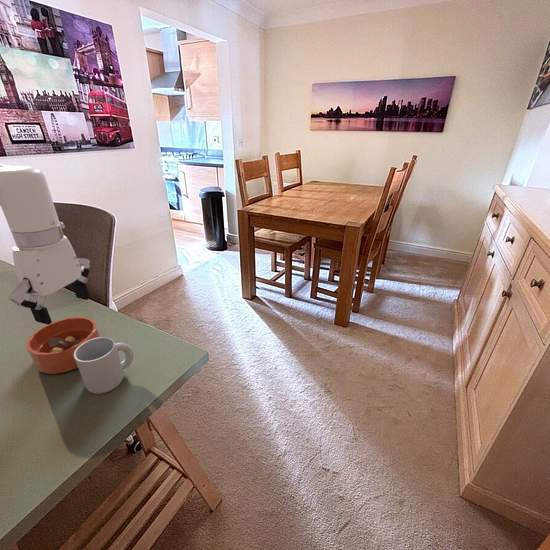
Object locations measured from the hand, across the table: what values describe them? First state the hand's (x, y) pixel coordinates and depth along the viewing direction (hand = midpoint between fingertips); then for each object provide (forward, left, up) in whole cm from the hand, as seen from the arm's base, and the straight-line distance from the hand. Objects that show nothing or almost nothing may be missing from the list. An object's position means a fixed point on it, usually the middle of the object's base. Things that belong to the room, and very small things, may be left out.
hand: (65, 309), depth 65 cm
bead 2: (-3, +3, -11) cm, 11 cm away
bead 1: (-4, -1, -11) cm, 11 cm away
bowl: (-2, 0, -12) cm, 12 cm away
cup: (+9, -10, -12) cm, 18 cm away
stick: (-1, 0, -11) cm, 11 cm away
